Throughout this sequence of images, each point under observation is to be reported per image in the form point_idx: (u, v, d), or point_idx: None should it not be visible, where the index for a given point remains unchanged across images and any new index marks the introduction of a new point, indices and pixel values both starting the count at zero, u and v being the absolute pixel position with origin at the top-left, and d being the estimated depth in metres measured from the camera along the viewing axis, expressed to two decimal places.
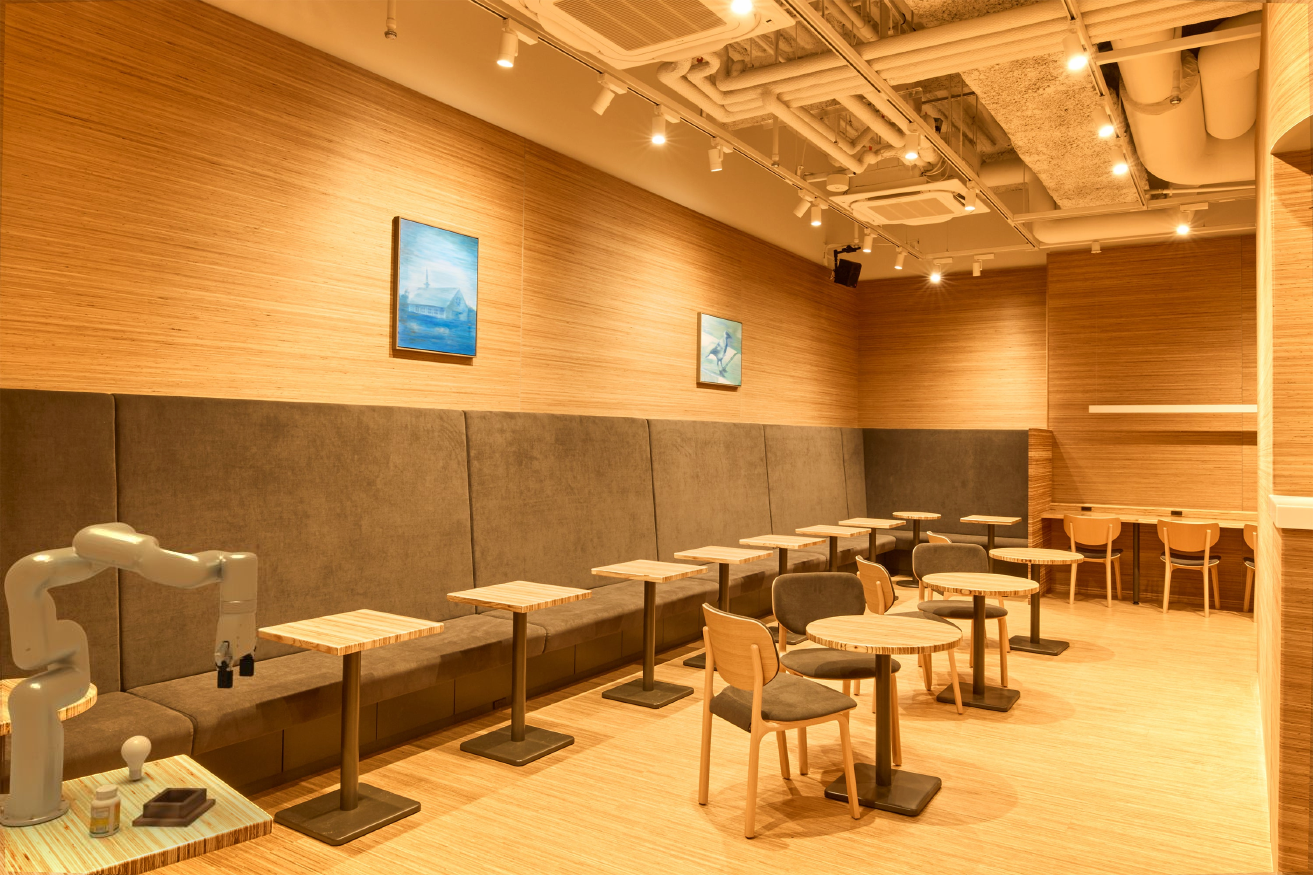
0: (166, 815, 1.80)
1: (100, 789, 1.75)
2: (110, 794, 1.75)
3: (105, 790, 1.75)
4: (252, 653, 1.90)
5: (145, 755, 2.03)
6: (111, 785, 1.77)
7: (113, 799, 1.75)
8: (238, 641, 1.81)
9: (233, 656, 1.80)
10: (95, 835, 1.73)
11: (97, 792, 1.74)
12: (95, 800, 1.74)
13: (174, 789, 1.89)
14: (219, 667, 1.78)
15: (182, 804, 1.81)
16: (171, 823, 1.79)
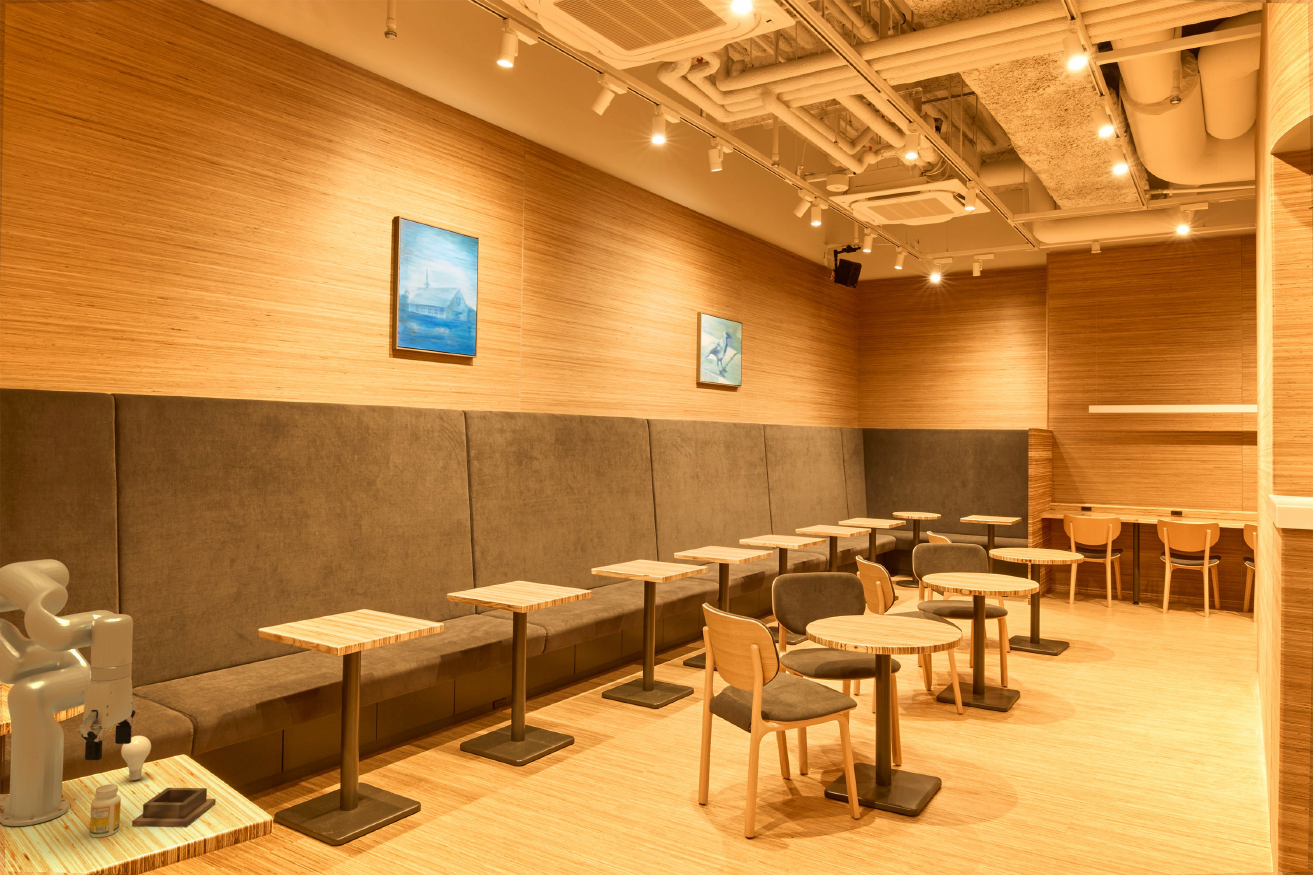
0: (166, 815, 1.80)
1: (100, 789, 1.75)
2: (110, 794, 1.75)
3: (105, 790, 1.75)
4: (129, 719, 1.81)
5: (145, 755, 2.03)
6: (111, 785, 1.77)
7: (113, 799, 1.75)
8: (109, 710, 1.73)
9: (102, 726, 1.72)
10: (95, 835, 1.73)
11: (97, 792, 1.74)
12: (95, 800, 1.74)
13: (174, 789, 1.89)
14: (86, 738, 1.70)
15: (182, 804, 1.81)
16: (171, 823, 1.79)
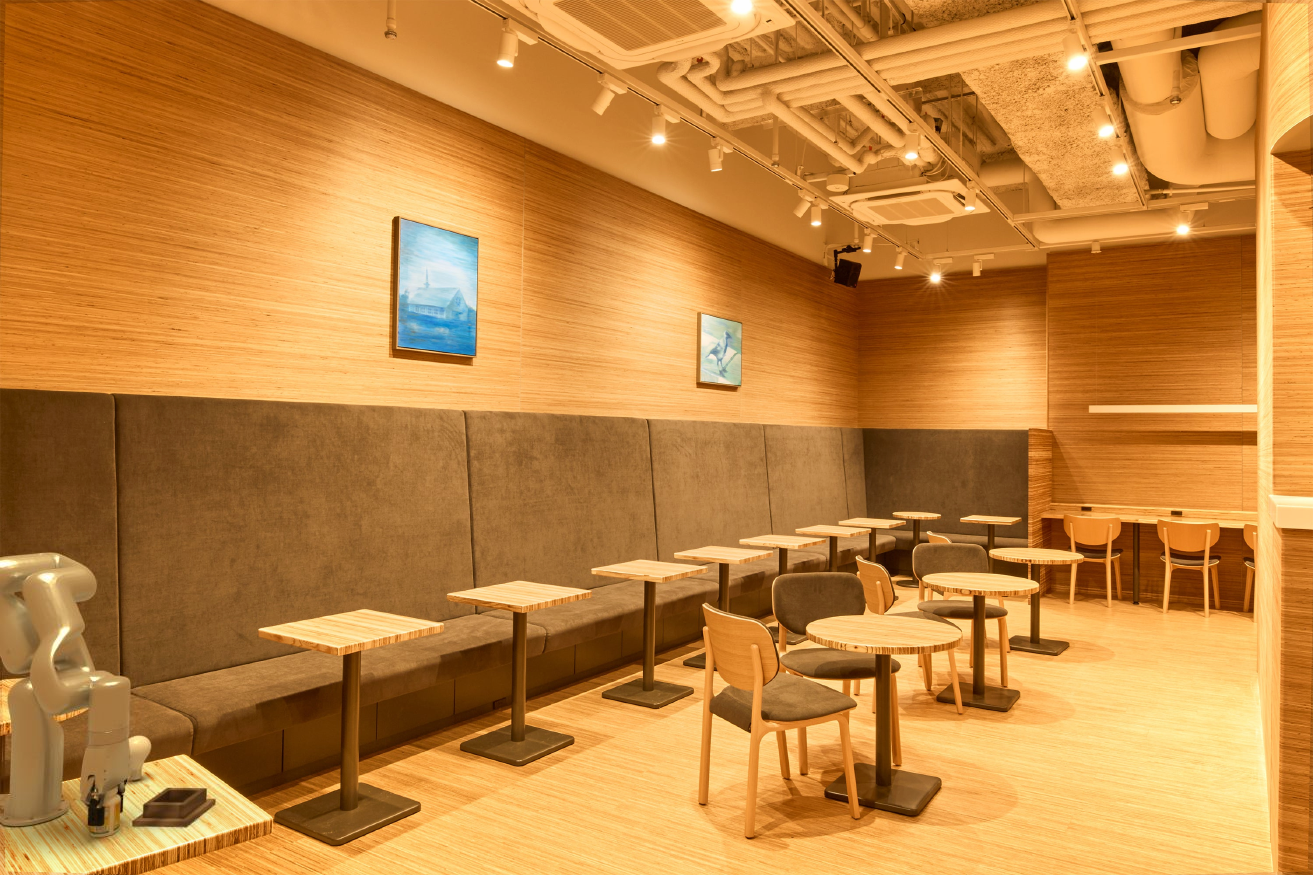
0: (166, 815, 1.80)
1: None
2: (110, 794, 1.75)
3: None
4: (121, 788, 1.79)
5: (145, 755, 2.03)
6: None
7: (113, 799, 1.75)
8: (106, 774, 1.72)
9: (99, 791, 1.71)
10: (95, 835, 1.73)
11: None
12: None
13: (174, 789, 1.89)
14: (88, 805, 1.71)
15: (182, 804, 1.81)
16: (171, 823, 1.79)
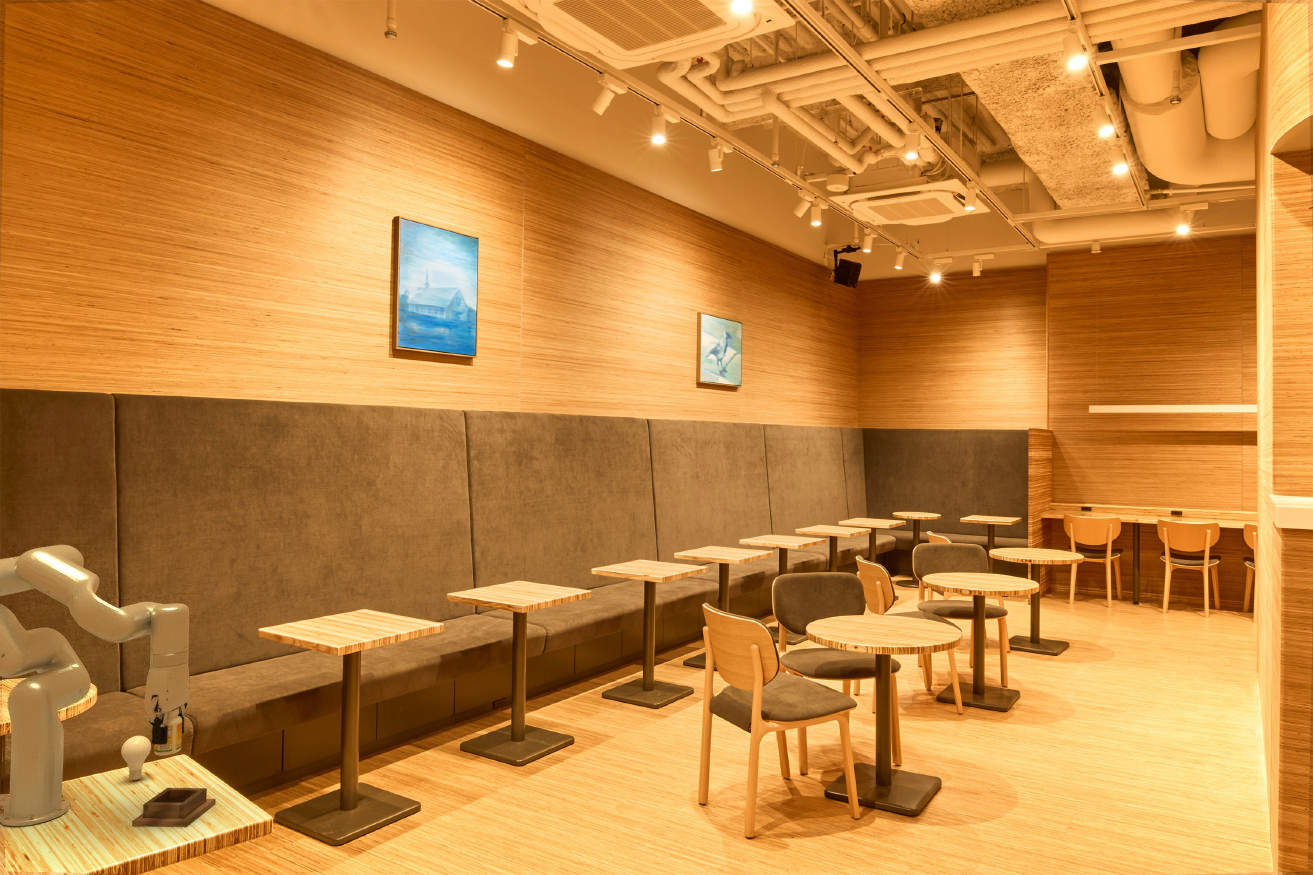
0: (166, 815, 1.80)
1: None
2: (172, 714, 1.83)
3: None
4: (182, 711, 1.87)
5: (145, 755, 2.03)
6: None
7: (175, 719, 1.83)
8: (168, 695, 1.80)
9: (162, 710, 1.79)
10: (159, 753, 1.81)
11: None
12: None
13: (174, 789, 1.89)
14: (153, 724, 1.79)
15: (182, 804, 1.81)
16: (171, 823, 1.79)
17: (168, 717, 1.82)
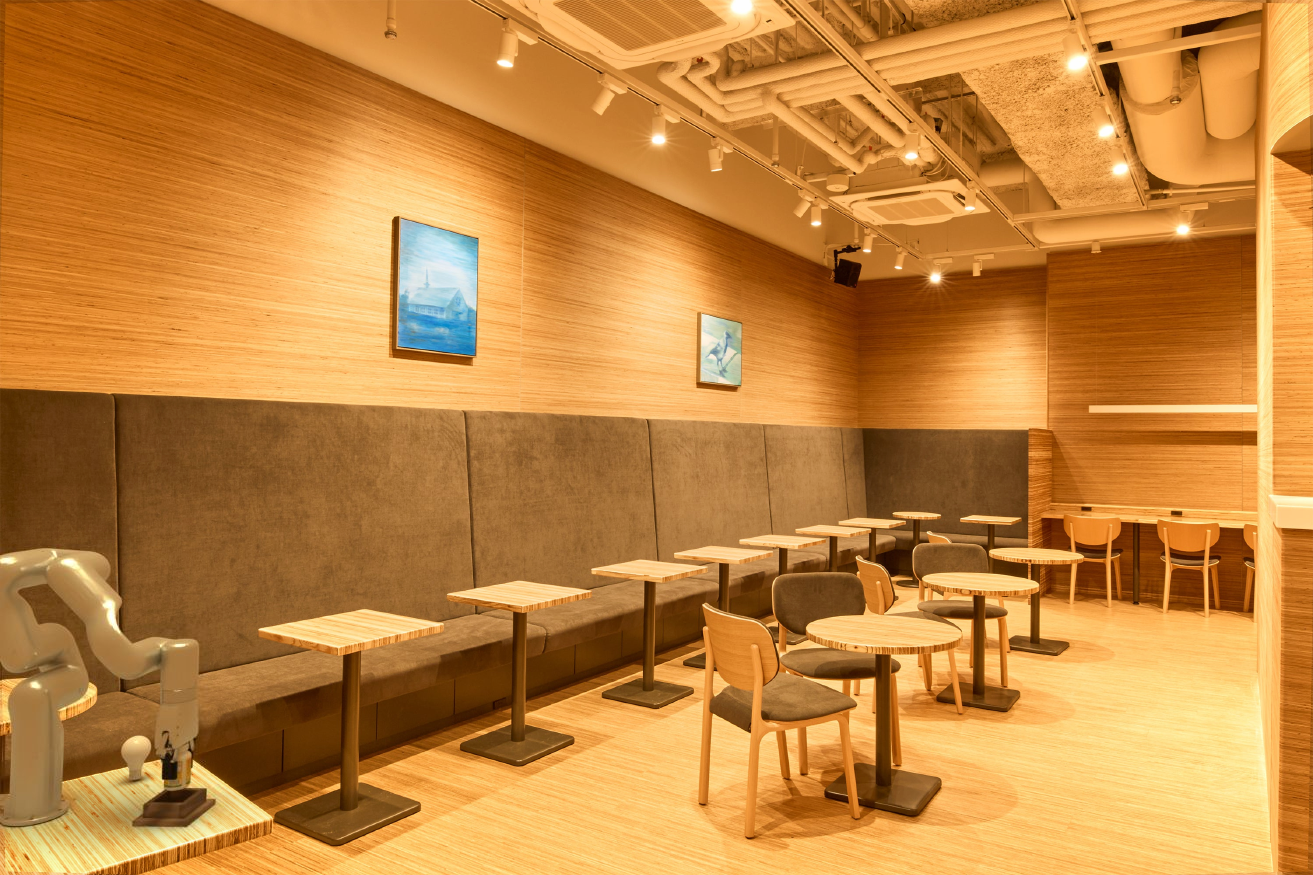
0: (166, 815, 1.80)
1: None
2: (182, 750, 1.84)
3: None
4: (190, 745, 1.88)
5: (145, 755, 2.03)
6: None
7: (185, 754, 1.85)
8: (178, 730, 1.82)
9: (173, 746, 1.81)
10: (169, 788, 1.83)
11: None
12: None
13: None
14: (163, 760, 1.80)
15: (182, 804, 1.81)
16: (171, 823, 1.79)
17: (178, 752, 1.84)
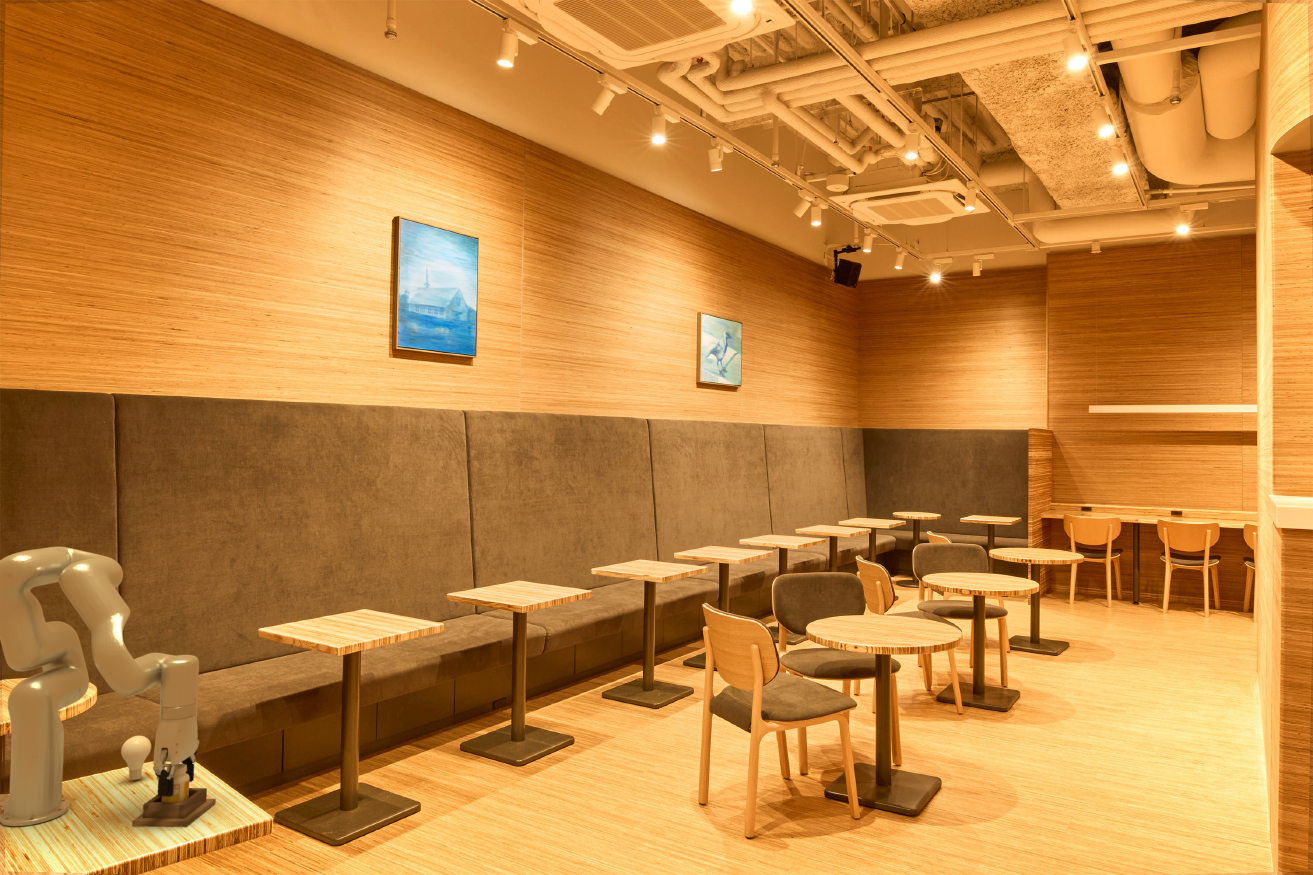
0: (166, 815, 1.80)
1: None
2: (180, 772, 1.84)
3: (175, 769, 1.84)
4: (192, 758, 1.89)
5: (145, 755, 2.03)
6: (180, 764, 1.87)
7: (183, 777, 1.84)
8: (177, 747, 1.82)
9: (172, 763, 1.81)
10: None
11: (168, 770, 1.84)
12: None
13: None
14: (159, 776, 1.79)
15: (182, 804, 1.81)
16: (171, 823, 1.79)
17: (176, 775, 1.84)
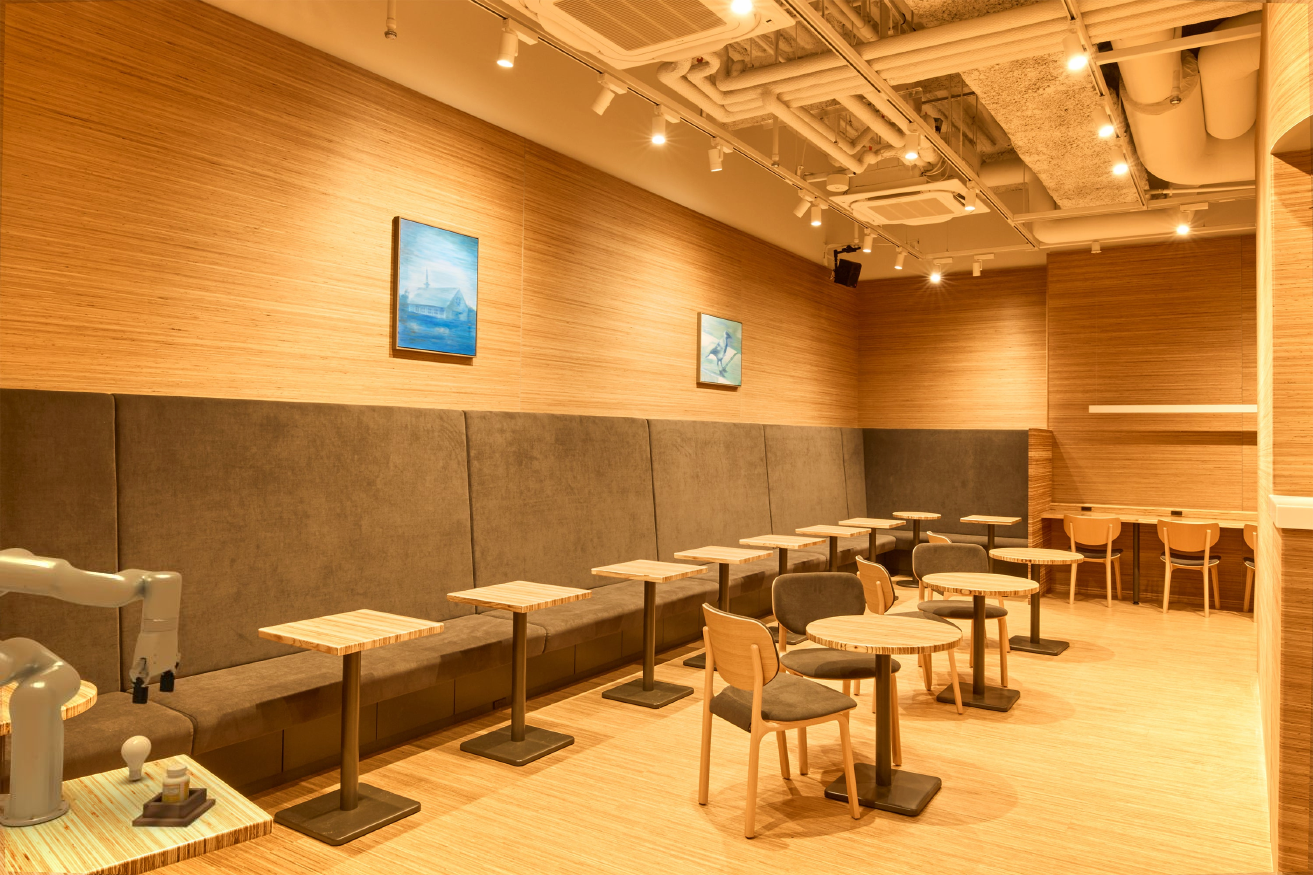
0: (166, 815, 1.80)
1: (171, 768, 1.84)
2: (180, 772, 1.84)
3: (176, 769, 1.84)
4: (173, 670, 1.95)
5: (145, 755, 2.03)
6: (181, 764, 1.87)
7: (183, 777, 1.85)
8: (156, 658, 1.87)
9: (149, 673, 1.86)
10: None
11: (168, 770, 1.84)
12: (166, 778, 1.84)
13: None
14: (134, 683, 1.84)
15: (182, 804, 1.81)
16: (171, 823, 1.79)
17: (176, 775, 1.84)
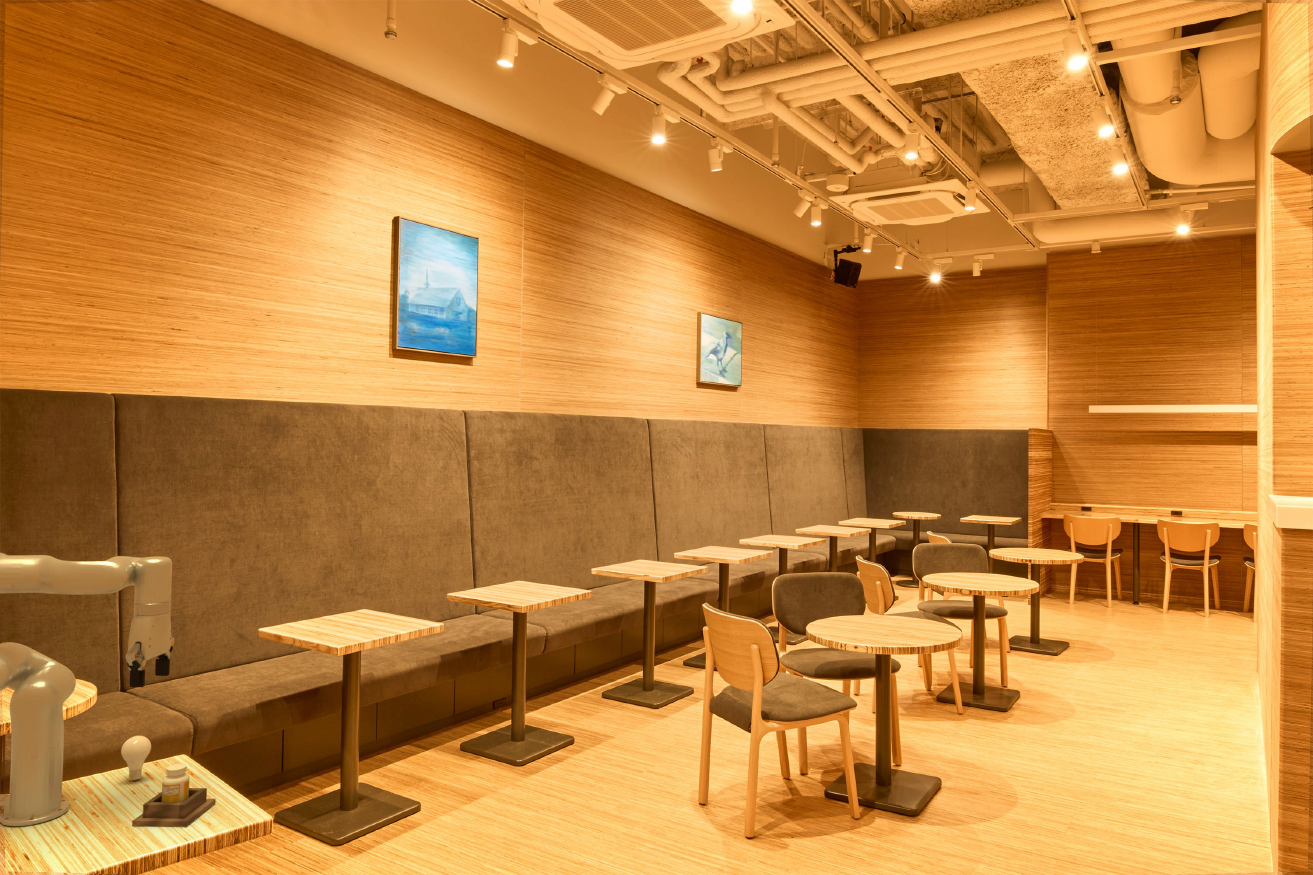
0: (166, 815, 1.80)
1: (171, 768, 1.84)
2: (180, 772, 1.84)
3: (175, 769, 1.84)
4: (167, 653, 1.97)
5: (145, 755, 2.03)
6: (180, 764, 1.87)
7: (182, 777, 1.84)
8: (151, 642, 1.89)
9: (145, 656, 1.88)
10: None
11: (168, 770, 1.84)
12: (166, 778, 1.84)
13: None
14: (131, 667, 1.86)
15: (182, 804, 1.81)
16: (171, 823, 1.79)
17: (176, 775, 1.84)
